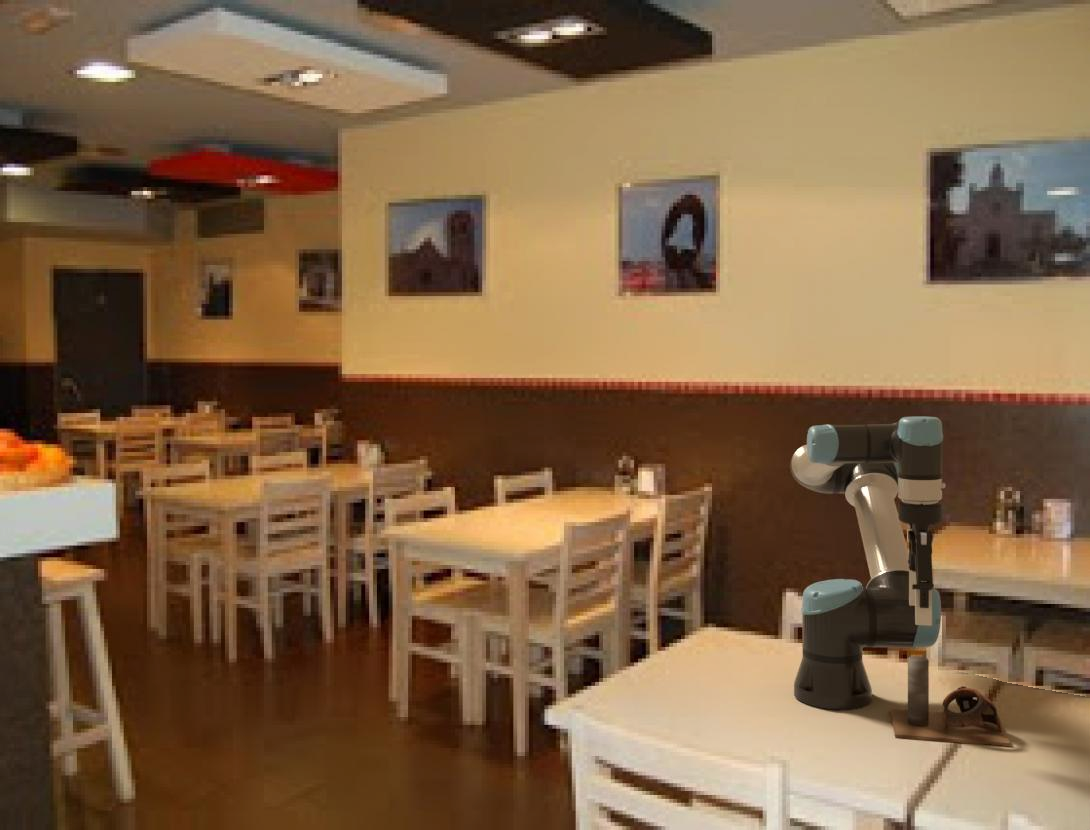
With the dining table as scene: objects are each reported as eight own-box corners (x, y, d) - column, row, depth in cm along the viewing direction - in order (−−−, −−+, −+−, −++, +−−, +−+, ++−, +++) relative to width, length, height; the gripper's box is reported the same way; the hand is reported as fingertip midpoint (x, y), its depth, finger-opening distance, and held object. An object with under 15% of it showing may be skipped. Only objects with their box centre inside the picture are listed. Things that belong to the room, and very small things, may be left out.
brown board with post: (895, 737, 174) (894, 668, 174) (890, 711, 187) (889, 647, 186) (1010, 746, 169) (1010, 675, 168) (997, 719, 181) (997, 653, 181)
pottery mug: (1014, 741, 171) (996, 705, 169) (963, 761, 173) (944, 726, 171) (989, 700, 183) (972, 667, 181) (941, 720, 184) (924, 686, 183)
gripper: (950, 512, 165) (950, 635, 166) (934, 491, 188) (934, 598, 190) (903, 511, 167) (903, 632, 168) (894, 490, 191) (894, 596, 192)
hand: (920, 614), depth 179 cm, fingers open, 13 cm apart
